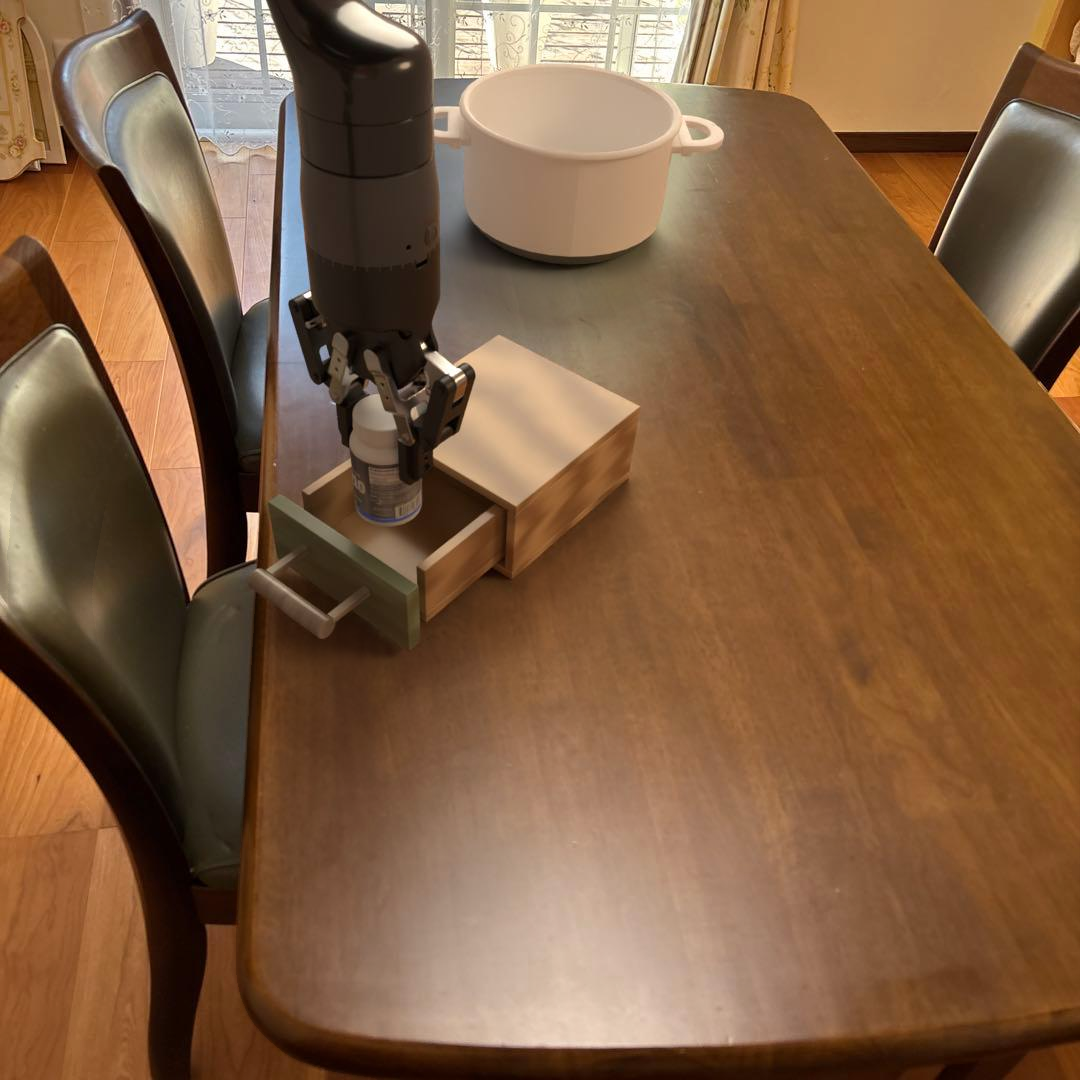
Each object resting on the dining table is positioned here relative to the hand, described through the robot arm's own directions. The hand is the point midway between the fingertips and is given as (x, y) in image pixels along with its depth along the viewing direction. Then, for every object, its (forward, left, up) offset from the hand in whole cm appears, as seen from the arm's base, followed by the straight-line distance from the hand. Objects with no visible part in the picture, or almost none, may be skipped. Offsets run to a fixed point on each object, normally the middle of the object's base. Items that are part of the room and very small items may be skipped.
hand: (386, 458), depth 69 cm
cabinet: (+13, 0, -11) cm, 17 cm away
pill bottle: (0, 0, -5) cm, 5 cm away
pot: (+51, +23, -11) cm, 57 cm away
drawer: (0, 0, -10) cm, 10 cm away
